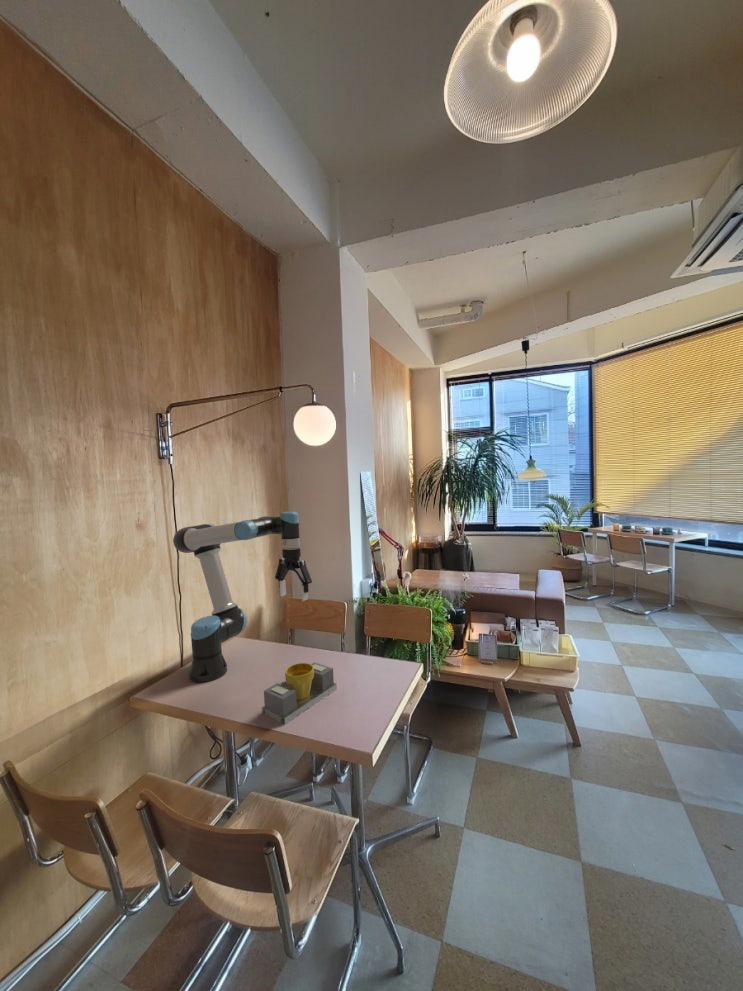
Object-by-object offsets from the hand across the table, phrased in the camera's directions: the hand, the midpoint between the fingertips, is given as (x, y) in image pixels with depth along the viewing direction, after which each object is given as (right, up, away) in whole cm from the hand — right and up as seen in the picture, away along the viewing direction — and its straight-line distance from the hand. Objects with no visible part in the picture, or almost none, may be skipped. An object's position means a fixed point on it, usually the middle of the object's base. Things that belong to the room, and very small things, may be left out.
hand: (293, 597), depth 166 cm
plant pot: (+7, -30, -22) cm, 38 cm away
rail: (+7, -32, -22) cm, 39 cm away
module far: (+13, -30, -14) cm, 35 cm away
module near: (+1, -31, -29) cm, 43 cm away
